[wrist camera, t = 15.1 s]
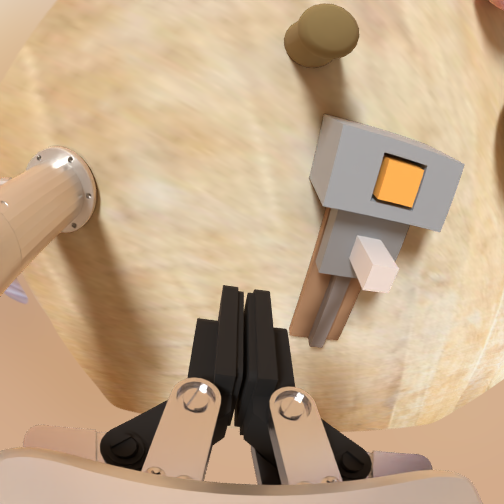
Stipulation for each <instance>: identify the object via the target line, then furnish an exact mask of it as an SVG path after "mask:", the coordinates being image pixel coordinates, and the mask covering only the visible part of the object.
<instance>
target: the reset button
mask: <svg viewBox="0 0 504 504" xmlns="http://www.w3.org/2000/svg"><path fill="white" fill-rule="evenodd" d="M423 173H424V170H423V169H421V168H420V167H418V166H417V165H415V164H414V163H412V162H411V161H409V160H407V159H404V158H401V157H398V156H394V155H391V154H388V153H384V156H383V160H382V163H381V167H380V170H379V174H378V177H377V180H376V184H375V187H374V190H373V194H374V195H375V196H376V198H377V199H380V200H384V201H388V202H392V203H396V204H400V205H404V206H408V207H412V206H413V203H414V200H415V197H416V194H417V191H418V188H419V185H420V182H421V179H422V176H423Z"/></svg>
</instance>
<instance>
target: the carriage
mask: <svg viewBox="0 0 504 504" xmlns="http://www.w3.org/2000/svg"><path fill="white" fill-rule="evenodd" d="M409 226H410V225H409V224H404V223H400V222H396V221H391V220H387V219H382V218H378V217H373V216H369V215H364V214H359V213H354V212H349V211H345V210H340V209H335V208H331V211H330V215H329V218H328V222H327V225H326V229H325V232H324V235H323V239H322V242H321V245H320V249H319V252H318V255H317V258H316V265H317V268H318V272H319V273H323V274H330V275H337V276H344V277H351V278H358V280H359V282H360V285H361V287H362V290H367V291H374V292H382V293H389V290H390V288H391V286H392V284H393V282H394V280H395V277H396V275H397V273H398V271H399V268H398V266H397V264H396V263H395V261H396V259H397V256H398V254H399V251H400V249H401V247H402V244H403V242H404V239H405V237H406V234H407V231H408V229H409Z"/></svg>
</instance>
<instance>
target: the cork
mask: <svg viewBox="0 0 504 504" xmlns="http://www.w3.org/2000/svg"><path fill="white" fill-rule="evenodd" d="M358 39H359V28H358V25H357V23H356V20H355V19H354V18H353V16H352V15H351V14H350V13H349V12H348V11H346V10H345V9H344V8H342V7H339V6H337V5H334V4H319V5H314V6H312V7H310V8H309V9H307V10H306V11H305V12H304V13H303V14H302V16H301V17H300V19H299V21H297V22H296V23H294V24H293V25H291V26H290V27H289V29H288V30H287V31H286V34H285V37H284V46H285V49H286V51H287V54H288V55H289V56H290V57H291V59H292V60H293V61H295V62H296V63H298V64H299V65H302V66H305V67H308V68H317V67H321V66H324V65H326V64H328V63H329V62H331V61H332V59H336V58H341V57H344V56H346V55H347V54H349V53H351V52H352V50H353V49H354V48H355V47H356V45H357V42H358Z"/></svg>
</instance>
